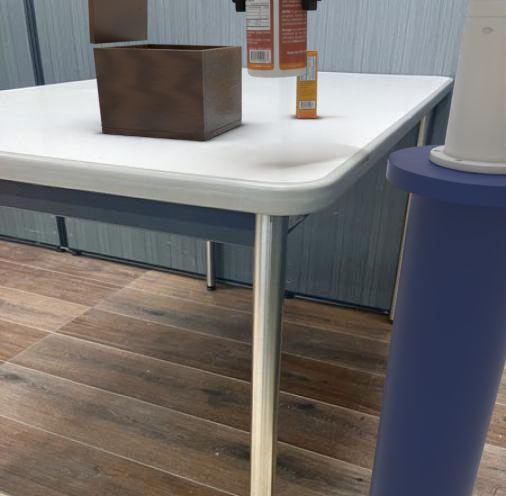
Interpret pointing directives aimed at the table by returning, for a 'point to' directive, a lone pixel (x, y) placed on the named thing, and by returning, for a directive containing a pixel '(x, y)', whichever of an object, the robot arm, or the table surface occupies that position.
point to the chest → (169, 90)
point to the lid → (118, 21)
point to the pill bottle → (276, 38)
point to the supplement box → (307, 88)
